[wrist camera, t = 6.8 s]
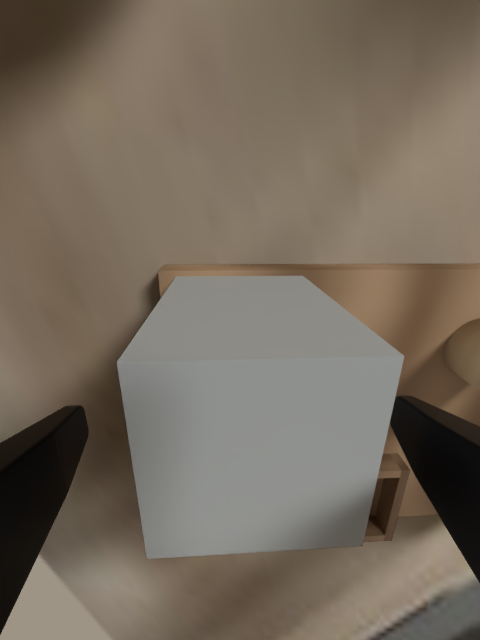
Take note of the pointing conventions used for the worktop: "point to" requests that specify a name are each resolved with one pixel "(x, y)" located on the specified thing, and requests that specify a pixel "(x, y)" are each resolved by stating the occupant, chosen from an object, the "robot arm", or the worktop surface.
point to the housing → (255, 417)
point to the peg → (465, 352)
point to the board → (401, 333)
